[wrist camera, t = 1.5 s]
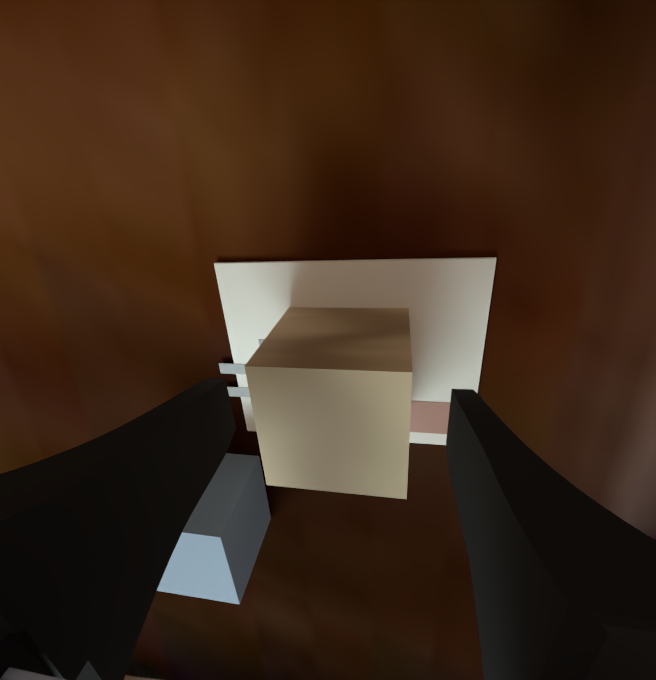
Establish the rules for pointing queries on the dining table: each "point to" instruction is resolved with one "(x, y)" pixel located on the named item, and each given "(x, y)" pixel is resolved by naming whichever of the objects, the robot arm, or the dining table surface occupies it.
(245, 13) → the dining table surface
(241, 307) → the letter
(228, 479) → the slate cube
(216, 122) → the dining table surface
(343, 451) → the oak block
